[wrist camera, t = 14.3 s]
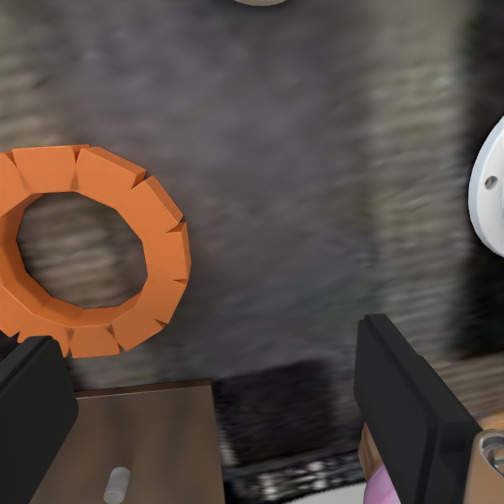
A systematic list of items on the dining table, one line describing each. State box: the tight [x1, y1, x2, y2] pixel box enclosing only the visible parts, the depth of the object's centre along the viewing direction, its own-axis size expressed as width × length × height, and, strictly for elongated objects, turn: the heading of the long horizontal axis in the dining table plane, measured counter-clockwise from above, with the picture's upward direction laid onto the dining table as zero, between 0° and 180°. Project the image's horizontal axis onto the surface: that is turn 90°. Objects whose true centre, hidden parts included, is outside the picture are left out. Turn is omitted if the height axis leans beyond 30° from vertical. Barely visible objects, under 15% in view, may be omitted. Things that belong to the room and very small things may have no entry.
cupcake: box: [358, 422, 401, 504], centre depth 25 cm, size 9×9×10 cm
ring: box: [0, 144, 191, 358], centre depth 20 cm, size 13×13×2 cm
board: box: [29, 379, 226, 504], centre depth 27 cm, size 17×17×3 cm
